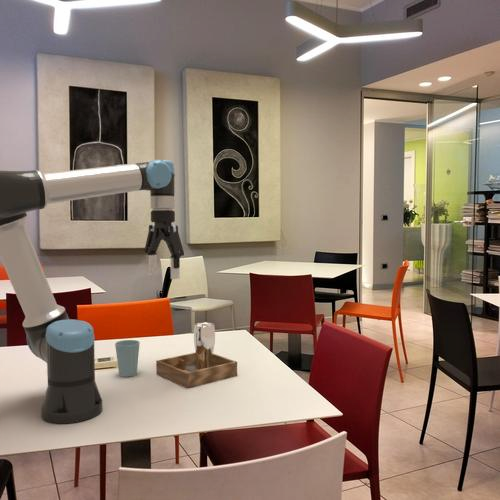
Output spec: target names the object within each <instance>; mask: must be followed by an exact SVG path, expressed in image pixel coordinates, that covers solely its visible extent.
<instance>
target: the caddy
mask: <svg viewBox="0 0 500 500" xmlns="http://www.w3.org/2000/svg"><path fill="white" fill-rule="evenodd" d="M196 361H197V359H196V352H190V353H186V354H181V355H177V356H172V357H167V358H162V359H158V360H156V362H155V364H156V366H155V367H156V368H155V370H156V375H157V376H159V377H162V378H164V379H166V380H168V381H170V382H172V383H174V384H177V385H179V386H180V387H182V388H185V389H192V388H194V387H198V386H199V387H200V386H202V385H207V384H211V383H214V382H218V381H222V380H227V379H229V378H233V377H238V361H236V360H233V359H230V358H227V357H224V356H221V355H220V354H216V353H213V366H214V367H209V368H205V369H201V370H197V371H196V370H195V368H196Z"/></svg>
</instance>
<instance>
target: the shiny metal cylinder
mask: <svg viewBox="0 0 500 500" xmlns="http://www.w3.org/2000/svg"><path fill="white" fill-rule="evenodd" d="M215 331H216V330H215V323H213V322H197V323H195V324H194V328H193V344H194V351H195V352H196V359H197V361H196V368H195V370H196V371H197V370H201V369H205V368H209V367H214V366H213V354H214V350H215V344H216V332H215ZM195 352H194V353H195Z"/></svg>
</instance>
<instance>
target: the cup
mask: <svg viewBox="0 0 500 500" xmlns="http://www.w3.org/2000/svg"><path fill="white" fill-rule="evenodd" d="M140 344H141V343H140V340H135V339H124V340H123V339H122V340H120V341H116V342H115V343H114V346H115V353H116V354H115V355H116V360H117V361H116V362H117V367H118V368H117V369H118V374H119V376H120V377H123V378H130V377H134V376H136V375H137V373H138V363H139V354H140V353H139V352H140Z"/></svg>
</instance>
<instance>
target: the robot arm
mask: <svg viewBox="0 0 500 500" xmlns="http://www.w3.org/2000/svg"><path fill="white" fill-rule="evenodd" d="M175 176H176V174H175V164H174V162H173V161H172V160H169V159H152V160H150V161H145V162H137V163H130V164H129V163H127V164H126V163H124V164H117V165H108V166H99V167H98V166H97V167H91V168H82V169H81V168H80V169H73V170H72V169H71V170H63V171H55V172H47V173H42V172H41V171H39V170H38V169H35V170H0V261H1V263H2V265H3V267H4V270H5V272H6V274H7V277H8V279H9V281H10V284H11V286H12V288H13V291H14V294H15V295H16V298H17V300H18V303H19V305H20V306H21V309H22V312H23V314H24V316H25V317H24V320H23V321H22V327H23V329H24V331H25V334H26V343H27V346H28V348H29V350H30V351H31V353H32V354H33V355H34V356H35V357H37V358H39V359H41V360H42V361H43V362H45V363H46V367H47V368H46V369H47V370H46V371H47V372H46V373H47V374H46V375H47V376H46V377H47V387H46V391H45V394H44V397H43V399H42V404H41V408H40V413H41V419H42V420H44V421H45V422H48V423H51V424H52V423H53V424H72V423H73V424H74V423H79V422H83V421H86V420H89V419H92V418H95V417H97V416H98V415H100V413H102V412H103V400H102V398H103V397H101V393H100V390H99V389H98V385H97V383H96V373H95V372H96V371H95V370H96V367H95V366H96V365H95V364H96V363H95V357H96V356H95V339H96V338H95V334H94V327H93V326H92V325H91V324H90V323H89V322H87V321H84V320H78V319H71V318H70V317H69V316H68V315H69V314H68V313H67V311H66V308H65V307H64V306H62V305H60V304H57V301H56V298H55V297H54V293H53V291H52V290H51V286H50V285H49V282H48V280H47V277H46V274H45V272H44V269H43V267H42V264H41V262H40V260H39V257H38V255H37V254H38V253H37V252H36V250H35V248H34V245H33V243H32V242H33V241H32V240H31V237H30V235H29V233H28V230H27V228H26V226H25V224H26V220H27V219H28V214H27V213H29V212H32V211H36V210H37V211H38V210H45V209H46V207H47V206H48V205H50V204H56V203H64V202H70V201H76V200H82V199H83V200H84V199H85V200H86V199H89V198H96V197H105V196H111V195H117V194H124V193H132V192H139V191H149V193H150V195H149V196H150V197H149V198H150V209H151V211H150V221H151V223H154V224H149V225H148V234H147V236H146V237H147V238H146V242H145V246H144V253H145V254H146V255H147V256H148V276H156V275H157V276H158V254H157V251H158V249H159V247H160V244H161V242H162V240H163V241H164V242H165V243H166V246H167V248H168V251H169V253H170V257H169V258H170V259H169V260H170V280H176V279H177V280H179V279H180V266H181V265H180V261H181V260H180V258H181V257H183V256H185V252H184V247H183V244H182V241H181V237H180V234H179V226H178V225H172V223H175V221H176V212H175V210H174V209H175V205H176V204H175V202H176V200H175V178H176V177H175Z"/></svg>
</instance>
